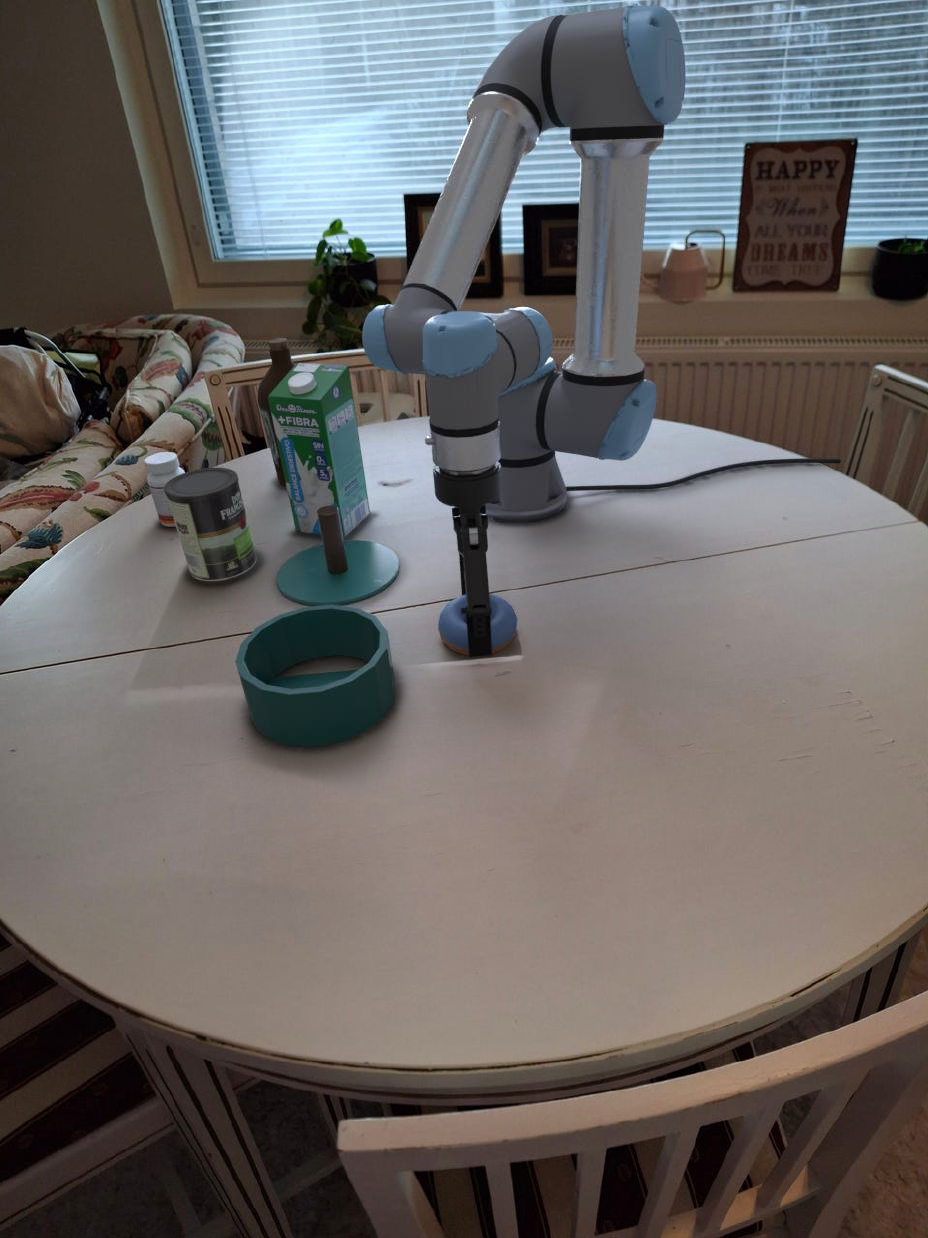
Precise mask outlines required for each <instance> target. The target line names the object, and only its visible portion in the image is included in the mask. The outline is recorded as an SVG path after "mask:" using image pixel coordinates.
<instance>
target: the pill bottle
mask: <svg viewBox="0 0 928 1238" xmlns="http://www.w3.org/2000/svg"><path fill="white" fill-rule="evenodd" d="M143 461H144V465H145V469H146V472H147V473H148V474H147V478H146V481H147V486H148V488H149V492H150V494H151V498H152V500H153V504H154V507H155V510H156V513H157V517H158V520H159V522H160V524H161V525H162V526H164V527H168V528H176V525H175V522H174V518H173V515H172V512H171V508H170V504H169V501H168V498H167V496H166V494H165V491H164V486H165V485H166V483H167V482H168V481H170V480H171V479H173V478H174V477H176V476H178V475H181V474H183V473H186V472H185V470H184V469H183V468H182V467H180V461H179V458H178V455H177V454H176V452H172V451H161V452H157V453H153V454H151V455H149V456H147V457H146V458H145V459H144V460H143Z"/></svg>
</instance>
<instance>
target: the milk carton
mask: <svg viewBox="0 0 928 1238" xmlns="http://www.w3.org/2000/svg"><path fill="white" fill-rule="evenodd" d="M295 364H296V365H295V366H294V367H293V368H292V369H291V371H290V372H289V373H288V374H287V375H286V376H285V377H284V379H283V380H282V381H281V382H280V383H279V384H278V385H277V387H276V388H275V389H274V390H273V391H272V392H271V393H270V395H269V396H268V399H269V404H270V409H271V414H272V419H273V423H274V428H275V433H276V438H277V443H278V447H279V452H280V457H281V462H282V467H283V472H284V476H285V481H286V486H287V488H286V491H287V495H288V500H289V504H290V509H291V515H292V519H293V524H294V529H295V532H299V533H300V532H301V533H308V534H315V535H321V532H320V526H319V521H318V516H317V510H318V509H319V508H321V507H324V506H336V507H337V508H338V510H339V515H340V521H341V527H342V533H343V539H344V538H346V537H347V536H348V535H349V534H350V533H351V532H352V531H353V530H354V529H355V528H356V527H357V526H358V525H359V524H361V522H362V521H363V520H365V519H366V518H367V517H368V516H369V515H370V514H371V509H370V503H369V496H368V488H367V483H366V482H367V481H366V475H365V469H364V461H363V456H362V448H361V442H360V434H359V427H358V421H357V414H356V413H357V412H356V407H355V400H354V395H353V394H354V393H353V387H352V381H351V373H350V367H349V365H343V364H325V363H309V362H307V363H306V362H296V363H295Z"/></svg>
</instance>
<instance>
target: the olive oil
mask: <svg viewBox="0 0 928 1238" xmlns="http://www.w3.org/2000/svg"><path fill="white" fill-rule="evenodd" d="M268 346H269V350H268V351H269V355H270V361H271V365H270V367H269V368H268V370H267V372H265V375H264V376H263V378H262V379H261V380H260V383H259V384H258V388H257V405H258V409H259V413H260V417H261V420H262V423H263V427H264V430H265V431H264V432H265V434H266V439H267V442H268V446H269V449H270V453H271V458H272V461H273V466H274V469H275V474H276V477H277V481H278V484H279V485H280V486H281V487H283V488H286V489H287V486H286V481H285V476H284V472H283V467H282V462H281V457H280V452H279V447H278V443H277V438H276V433H275V428H274V423H273V419H272V414H271V409H270V404H269V399H268V396H269V395H270V393H271V392H272V391H273V390H274V389H275V388H276V387H277V385H278V384H279V383H280V382H281V381H282V380H283V379H284V377H285V376H286V375H287V374H288V373H289V372H290V371H291V369H292V368H293V367H294V366H295V365H296V364H297V363H295V362H293V360H292V355H291V354H292V353H291V348H290V346H289V341H288V339H287V338H286V337H276V338H272V339H270V340H268Z"/></svg>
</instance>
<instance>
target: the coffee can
mask: <svg viewBox="0 0 928 1238" xmlns="http://www.w3.org/2000/svg"><path fill="white" fill-rule="evenodd" d="M239 480H240V479H239V475H238V473H237V472H236V471H235V470H232V469H230V468H226V467H203V468H198V469H193V470H189V471H186V472H185V473H183V474H181V475H178V476H176V477H174V478H173V479H171V480H170V481H168V482H167V483H166V485H165V486H164V491H165V494H166V496H167V498H168V501H169V504H170V508H171V512H172V515H173V518H174V522H175V525H176V527H175V528H176V531H177V535H178V538H179V541H180V545H181V549H182V552H183V554H184V558H185V562H186V565H187V568H188V572H189V574H190V575H191V577H193V578H194V579H196V580H199V581H206V582H219V581H224V580H229V579H232V578H237V577H238V576H241V575H242V574H245V573H246V572H248V571H249V570H251V569H252V568H253V567H254V566H255V565H256V562H257V555H256V550H255V546H254V542H253V541H254V540H253V538H252V537H253V536H252V533H251V529H250V526H249V525H250V524H249V521H248V517H247V516H248V515H247V513H246V508H245V504H244V500H243V495H242V491H241V486H240V482H239Z"/></svg>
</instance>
